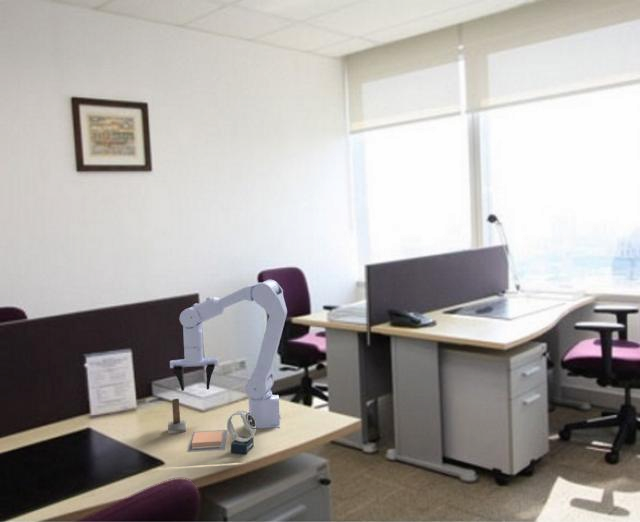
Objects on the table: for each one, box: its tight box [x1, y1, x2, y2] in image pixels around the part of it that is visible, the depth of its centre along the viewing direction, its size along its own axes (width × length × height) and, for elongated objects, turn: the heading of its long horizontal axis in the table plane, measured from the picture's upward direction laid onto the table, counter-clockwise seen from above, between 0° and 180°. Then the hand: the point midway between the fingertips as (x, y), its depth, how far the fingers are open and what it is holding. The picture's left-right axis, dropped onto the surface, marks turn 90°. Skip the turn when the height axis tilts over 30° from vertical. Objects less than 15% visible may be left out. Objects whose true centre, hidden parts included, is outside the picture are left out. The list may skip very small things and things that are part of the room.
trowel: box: [167, 398, 187, 434], centre depth 182 cm, size 5×3×10 cm, turn 102°
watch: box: [226, 410, 258, 455], centre depth 166 cm, size 6×8×11 cm
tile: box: [192, 430, 223, 449], centre depth 172 cm, size 8×2×8 cm
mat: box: [187, 429, 229, 453], centre depth 174 cm, size 10×15×1 cm, turn 5°
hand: (195, 389), depth 190 cm, fingers open, 7 cm apart
